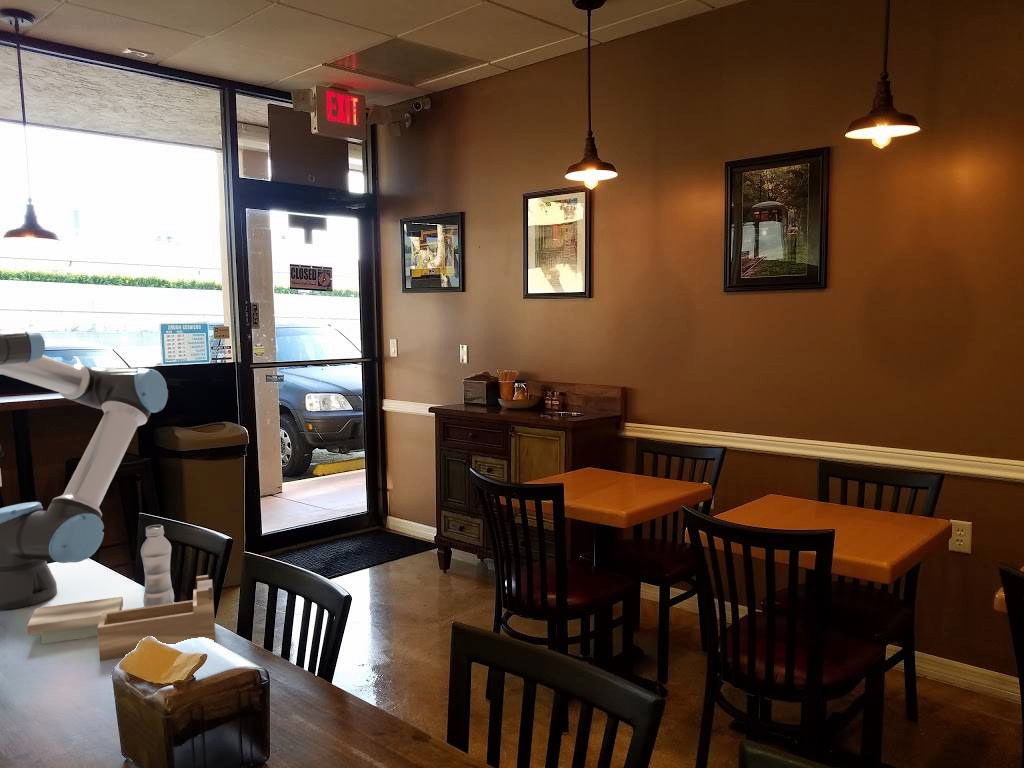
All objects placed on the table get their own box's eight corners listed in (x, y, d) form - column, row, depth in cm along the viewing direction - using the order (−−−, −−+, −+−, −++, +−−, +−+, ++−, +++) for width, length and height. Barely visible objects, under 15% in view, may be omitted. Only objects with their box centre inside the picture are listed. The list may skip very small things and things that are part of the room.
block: (198, 591, 170) (197, 581, 170) (212, 589, 171) (212, 579, 171) (197, 600, 165) (197, 589, 165) (213, 598, 167) (212, 587, 166)
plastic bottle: (140, 609, 184) (134, 527, 182) (169, 601, 189) (164, 521, 186) (148, 617, 179) (143, 533, 177) (179, 609, 184) (174, 527, 182)
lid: (36, 616, 173) (36, 608, 173) (123, 604, 179) (122, 596, 179) (27, 635, 164) (26, 625, 163) (118, 621, 170) (118, 612, 170)
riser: (47, 631, 173) (46, 618, 172) (113, 621, 177) (112, 608, 177) (41, 644, 166) (40, 630, 166) (109, 633, 171) (108, 620, 170)
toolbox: (104, 642, 166) (101, 588, 165) (214, 625, 175) (211, 574, 173) (99, 662, 157) (95, 605, 156) (215, 644, 165) (212, 589, 164)
